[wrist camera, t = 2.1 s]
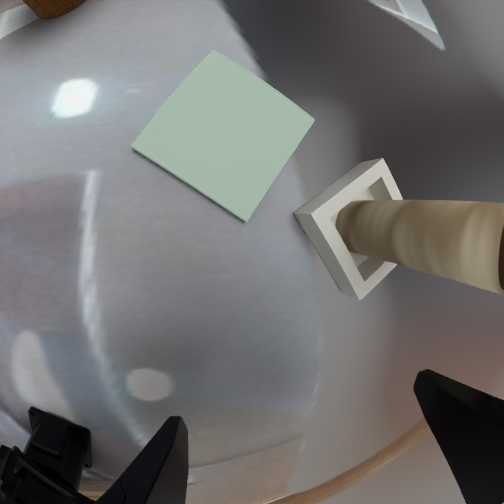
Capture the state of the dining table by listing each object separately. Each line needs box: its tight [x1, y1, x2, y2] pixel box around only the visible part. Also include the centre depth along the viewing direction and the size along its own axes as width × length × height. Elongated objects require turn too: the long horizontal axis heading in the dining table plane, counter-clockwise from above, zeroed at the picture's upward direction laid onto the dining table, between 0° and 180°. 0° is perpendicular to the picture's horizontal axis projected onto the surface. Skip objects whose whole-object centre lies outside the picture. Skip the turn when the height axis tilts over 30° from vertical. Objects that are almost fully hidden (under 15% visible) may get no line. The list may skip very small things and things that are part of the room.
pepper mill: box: [335, 200, 504, 295], centre depth 13 cm, size 4×4×15 cm
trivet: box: [131, 50, 314, 222], centre depth 17 cm, size 9×9×1 cm
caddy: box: [293, 158, 403, 301], centre depth 19 cm, size 7×7×3 cm
